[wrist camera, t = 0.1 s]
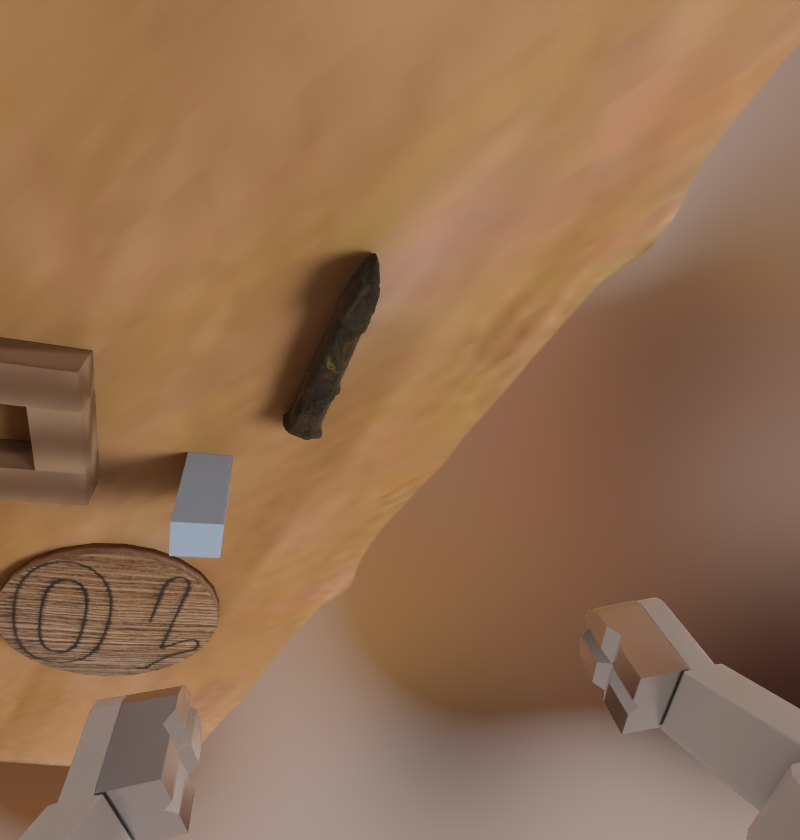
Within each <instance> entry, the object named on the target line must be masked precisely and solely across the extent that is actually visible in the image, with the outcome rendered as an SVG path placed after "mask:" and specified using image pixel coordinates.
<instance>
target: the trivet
mask: <svg viewBox="0 0 800 840" xmlns="http://www.w3.org/2000/svg"><path fill="white" fill-rule="evenodd" d="M218 611H219V599H218V597H217V594H216V592H215V589H214V586H213V585H212V584H211V583H210V582H209V581H208V579H207V578H206V577H205V576H204V575H203V574H202V573H201V572H200V571H199V570H197V569H196V568H194V567H193V566H191V565H189V564H188V563H186V562H185V561H183V560H182V559H180V558H177V557H174V556H169V554H166V553H164V552H161V551H158V550H155V549H151V548H145V547H140V546H134V545H129V544H110V543H91V544H84V545H77V546H71V547H64V548H60V549H57V550H54V551H51V552H49V553H46V554H43V555H40V556H37V557H35V558H33V559H32V560H30V561H29V562H27V563H26V564H24V565H23V566H21V567H20V568H18V569H17V570H15V571H14V572H13V574H12V575H11V576H10V578H9V579H8V580H7V582H6V583H5V584H4V585H3V587H2V589H1V591H0V634H1V635H2V636H3V638H4V639H5V640H6V641H7V642H8V643H9V645H10V646H11V647H13V648H14V649H16V650H17V651H19V652H20V653H22V654H23V655H25V656H26V657H28V658H29V659H31V660H34V661H37V662H39V663H42V664H44V665H47V666H49V667H52V668H55V669H59V670H64V671H68V672H73V673H77V674H87V675H99V676H118V675H134V674H139V673H145V672H150V671H155V670H159V669H162V668H165V667H168V666H171V665H173V664H176V663H179V662H181V661H182V660H184V659H186V658H188V657H190V656H191V655H193V654H195V653H196V652H198V651H199V650H200V649H201V648H202V647H203V646H204V645H205V644H206V643H207V642H208V641H209V640H210V638H211V636H212V635H213V633H214V631H215V629H216V627H217V621H218Z"/></svg>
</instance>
